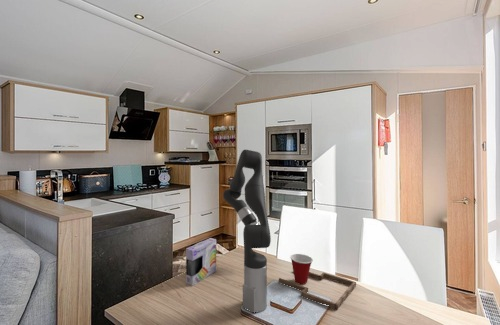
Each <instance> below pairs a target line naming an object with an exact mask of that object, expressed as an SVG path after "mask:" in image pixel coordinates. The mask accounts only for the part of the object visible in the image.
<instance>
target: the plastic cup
mask: <svg viewBox="0 0 500 325" xmlns="http://www.w3.org/2000/svg"><path fill="white" fill-rule="evenodd" d="M289 258H290V261H291V265H292V273H293V277H294V283H295V284H298V285H306V284H307V283H308V281H309V280H308V278H309V277H308V276H309V272H310V270H311V266H312V262H313V260H314V259H313V258H312V257H311V256H309V255H306V254H302V253H293V254H291V255H290V256H289Z"/></svg>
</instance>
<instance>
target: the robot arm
mask: <svg viewBox="0 0 500 325" xmlns="http://www.w3.org/2000/svg"><path fill="white" fill-rule="evenodd" d="M262 156H263V155H262V154H261V152H259V151H254V150H251V149H243V150H242V151H241V153H240V154H239V157H238V161H237V164H236V168H235V172H234V176H233V178H232V180H231V182H230V184H229V188H227V189H226V190H224V191H223V193H222V197H223V199H224V200H225V202H226V203H227V204H228V205H230V206H231V207H232V208H233V209H234V210H235V212H236V214H237V216H238V217H239V219H240V221H241V222H242V224H243V225H244V228H243V233H242V235H243V250H244V252H243V253H244V256H243V271H244V272H243V274H244V275H243V280H244V281H243V284H242V308H243V307H245V308H246V309H248V310H250V311H251V312H250V311H249V312H250V313H252V312H254V313H253V314H256V313H258V312H257V311H261V312H264V309H265V310H266V309H267V308H268V307H267V306H268V300H267V298H268V295H267V294H268V293H267V291H268V286H267V284H268V281H267V279H268V276H267V273H268V272H267V270H268V266H267V265H268V264H267V263H268V262H267V260H268V259H267V257H266V256H265V255H264V254H263V253H259V252H257V251H255V250H253V249H266V248H269V247H270V246H271V242H272V239H271V238H272V237H271V232H270V226H269V225H270V224H269V219H268V213H267V204H266V194H265V192H266V191H265V186H264V178H263V176H264V175H263V157H262ZM243 169H250V170H253V174H252V176H251V177H250V178H249V179H248V180H247V182H246V176H245V173H244V170H243ZM245 183H246V184H245ZM244 185H245V186H244ZM243 187H244V200H243V199H239V198H241V195H242V189H243ZM256 217H257V218H256ZM257 219H258V221H257ZM246 309H245V310H246ZM248 310H247V311H248ZM255 312H256V313H255Z"/></svg>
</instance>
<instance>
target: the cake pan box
mask: <svg viewBox="0 0 500 325" xmlns="http://www.w3.org/2000/svg"><path fill="white" fill-rule="evenodd" d="M216 271H217V239H216V238H212V237H210V238H207V239H205V240H202V241H200V242H198V243H195V244H194V245H192V246H189V247H186V249H185V282H186V285H188V286H191V287H194V286H195V285H196V284H198V283H200V282H201V281H203V280H204V279H206V278H208V277H209V276H211V275H212V274H213V273H215V272H216Z"/></svg>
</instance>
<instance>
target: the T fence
mask: <svg viewBox="0 0 500 325" xmlns="http://www.w3.org/2000/svg"><path fill="white" fill-rule="evenodd" d="M308 278H312V279H315V280H318V281H322V280H323V279H328V280H331V281H335V282H337V283H341V284H343V285H348V286H349V287H348V288H347V289H346V290H345V291H344V292H343V294H342V295H341V296H340V297H339V299H337V301H336V302H333V301H330V300H327V299H325V298H322V297H320V296H317V295H315V294H311V293H309V288H308V287H306V286H304V285H302V284H297V283H296V282H292V281H289V280H286V279H284V278H280V277H279V278H278V283H279V284H280V283H282V284H281V285H283V284H285V285H284V286H286V285H288V286H287V287H289V286H291V287H294V288H296V289H295V290H297V289H299V290H301V291H300V297H301V296H303V297H302V298H304V297H305V298H304V299H306V298H308V299H307V300H309V299H310V301H312V300H313V301H312V302H314V301H316V302H315V303H317V302H319V303H322V304H326V305H329V307H328V308H330V309H333V310H334V311H335V310H336V311H338V310H339V308H340V307H341V306H342V304H344V302H345V301H346V300H347V298H348V297H349V296H350V294H352V293H353V290H355V288H356V287H357V282H356V281H353V280H350V279H347V278H343V277H341V276H337V275H333V274H330V273H326V272H324V271H323V272H322V273H321V274H318V273H314V272H311V271H309V276H308ZM291 287H290V288H291ZM294 288H293V289H294ZM299 290H298V291H299ZM307 292H308V293H307ZM319 303H318V304H319ZM322 304H321V305H322Z"/></svg>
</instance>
